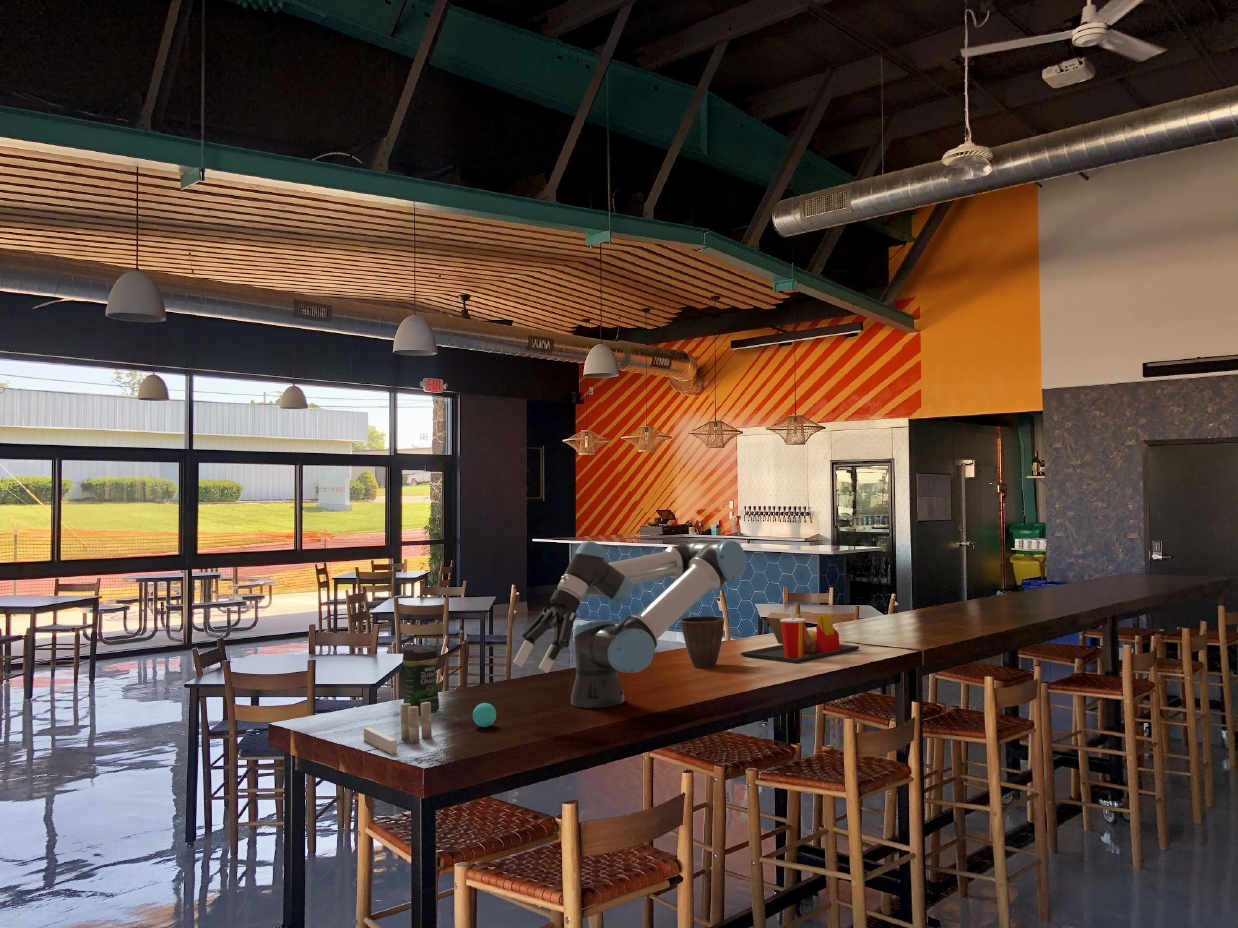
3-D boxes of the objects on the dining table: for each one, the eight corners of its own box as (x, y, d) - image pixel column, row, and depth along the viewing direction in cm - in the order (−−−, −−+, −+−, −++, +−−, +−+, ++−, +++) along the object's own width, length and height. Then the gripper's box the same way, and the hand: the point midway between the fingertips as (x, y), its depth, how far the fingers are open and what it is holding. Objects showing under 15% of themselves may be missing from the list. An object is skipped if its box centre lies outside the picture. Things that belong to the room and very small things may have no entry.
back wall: (369, 739, 230) (369, 726, 230) (397, 752, 216) (396, 739, 216) (363, 740, 229) (363, 727, 230) (390, 754, 215) (390, 741, 215)
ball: (490, 722, 243) (489, 699, 243) (500, 726, 238) (499, 703, 238) (469, 726, 239) (468, 703, 240) (479, 730, 234) (478, 706, 235)
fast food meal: (859, 651, 334) (856, 600, 335) (797, 665, 312) (794, 610, 313) (803, 645, 354) (801, 596, 355) (741, 657, 331) (738, 606, 332)
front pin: (429, 735, 231) (428, 701, 231) (433, 737, 229) (432, 702, 229) (420, 737, 230) (419, 702, 230) (424, 739, 228) (423, 704, 228)
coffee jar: (414, 717, 253) (412, 649, 254) (399, 713, 259) (397, 646, 260) (444, 711, 260) (442, 644, 261) (429, 707, 266) (427, 642, 266)
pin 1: (409, 737, 231) (408, 702, 231) (412, 738, 229) (411, 704, 229) (399, 738, 229) (398, 704, 230) (403, 740, 227) (402, 705, 228)
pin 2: (417, 740, 227) (415, 705, 227) (420, 742, 225) (419, 707, 225) (407, 742, 225) (406, 707, 226) (411, 744, 223) (410, 708, 224)
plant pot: (728, 668, 307) (726, 620, 308) (683, 670, 308) (681, 622, 308) (724, 661, 322) (722, 615, 323) (681, 663, 323) (679, 617, 323)
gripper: (535, 585, 252) (496, 655, 244) (583, 589, 232) (543, 665, 224) (555, 600, 255) (518, 668, 247) (604, 604, 235) (565, 680, 227)
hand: (530, 667), depth 236 cm, fingers open, 13 cm apart
